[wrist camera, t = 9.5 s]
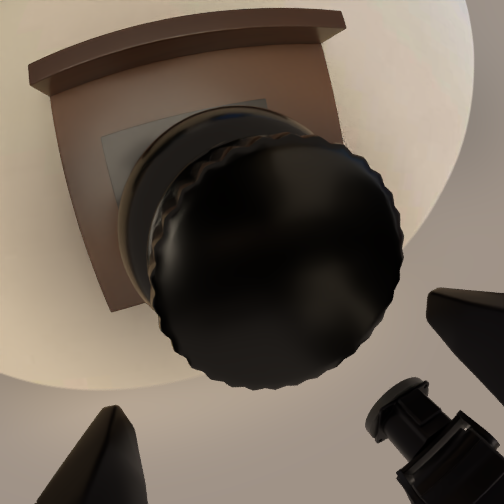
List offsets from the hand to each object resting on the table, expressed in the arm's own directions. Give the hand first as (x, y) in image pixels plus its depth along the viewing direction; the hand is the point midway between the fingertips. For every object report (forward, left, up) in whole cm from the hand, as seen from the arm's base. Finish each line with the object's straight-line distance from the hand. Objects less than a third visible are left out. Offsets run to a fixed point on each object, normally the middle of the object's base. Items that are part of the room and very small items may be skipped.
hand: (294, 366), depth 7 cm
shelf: (+5, -1, -12) cm, 13 cm away
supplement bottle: (+3, 0, -11) cm, 11 cm away
